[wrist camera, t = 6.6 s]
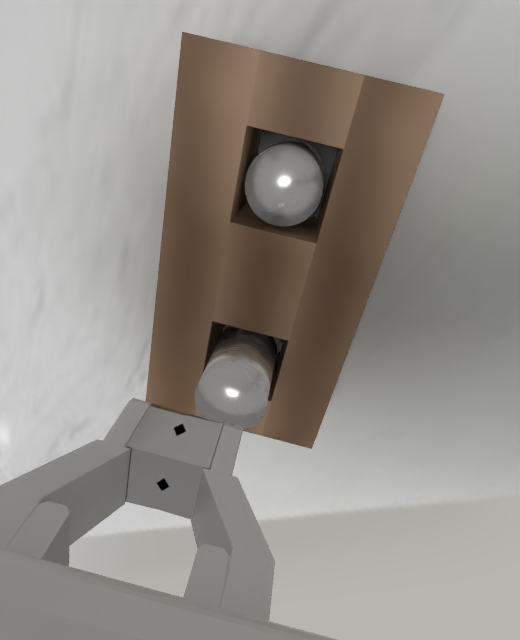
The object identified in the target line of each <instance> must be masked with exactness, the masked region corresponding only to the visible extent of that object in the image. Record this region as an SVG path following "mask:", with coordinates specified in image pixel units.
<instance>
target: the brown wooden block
mask: <svg viewBox="0 0 520 640" xmlns="http://www.w3.org/2000/svg"><path fill="white" fill-rule="evenodd" d="M443 97H444V94H442V93H437V92H433V91H429V90H425V89H421V88H416V87H412V86H408V85H404V84H400V83H395V82H391V81H387V80H383V79H379V78H374V77H370V76H366V75H362V74H358V73H353V72H349V71H345V70H341V69H336V68H332V67H328V66H324V65H320V64H315V63H311V62H307V61H303V60H299V59H294V58H290V57H286V56H282V55H278V54H273V53H269V52H265V51H261V50H257V49H252V48H248V47H244V46H240V45H236V44H231V43H227V42H223V41H219V40H215V39H210V38H206V37H202V36H198V35H194V34H189V33H185V32H182V40H181V50H180V60H179V70H178V80H177V90H176V100H175V111H174V121H173V131H172V141H171V151H170V161H169V171H168V181H167V192H166V202H165V212H164V222H163V232H162V242H161V252H160V262H159V272H158V283H157V293H156V303H155V313H154V323H153V333H152V343H151V353H150V364H149V374H148V384H147V394H146V402H148V403H151V404H152V403H153V404H157V405H160V406H164V407H167V408H170V409H174V410H177V411H181V412H184V413H187V414H192V415H195V416H199V417H203V416H202V415H201V414H200V413H199V411H198V409H197V407H196V404H195V390H196V388H197V386H198V383H199V381H200V379H201V377H202V375H203V373H204V371H205V368H206V366H207V364H208V362H209V360H210V358H211V355H212V353H213V351H214V349H215V347H216V345H217V343H218V340H219V338H220V336H221V334H222V332H223V327H224V324H225V325H229V326H233V327H237V328H241V329H245V330H249V331H253V332H256V333H260V334H264V335H268V336H272V337H276V338H280V339H284V341H283V345H282V348H281V352H280V354H278V353H277V355H276V360H275V365H274V370H273V375H272V380H271V386H270V391H269V396H268V401H267V406H266V411H265V414H264V416H263V418H262V419H261V420H260V422H259V423H257V424H256V425H255V426H253V427H251V428H248V429H245V430H243V431H246V432H250V433H254V434H258V435H262V436H265V437H269V438H273V439H277V440H281V441H284V442H288V443H292V444H296V445H299V446H303V447H307V448H311V449H312V447H313V444H314V441H315V439H316V436H317V433H318V431H319V428H320V425H321V423H322V420H323V417H324V414H325V412H326V409H327V406H328V404H329V401H330V398H331V396H332V393H333V390H334V388H335V385H336V382H337V380H338V377H339V374H340V372H341V369H342V366H343V364H344V361H345V358H346V356H347V353H348V350H349V348H350V345H351V342H352V340H353V337H354V334H355V332H356V329H357V326H358V324H359V321H360V318H361V316H362V313H363V310H364V308H365V305H366V302H367V300H368V297H369V294H370V292H371V289H372V286H373V284H374V281H375V278H376V276H377V273H378V270H379V268H380V265H381V262H382V260H383V257H384V254H385V252H386V249H387V246H388V244H389V241H390V238H391V236H392V233H393V230H394V228H395V225H396V222H397V220H398V217H399V214H400V212H401V209H402V206H403V204H404V201H405V198H406V196H407V193H408V190H409V188H410V185H411V182H412V180H413V177H414V174H415V172H416V169H417V166H418V164H419V161H420V158H421V156H422V153H423V150H424V148H425V145H426V142H427V140H428V137H429V134H430V132H431V129H432V126H433V124H434V121H435V118H436V116H437V113H438V110H439V108H440V105H441V102H442V100H443ZM262 129H263V130H267V131H272V132H276V133H280V134H284V135H288V136H292V137H296V138H300V139H304V140H309V141H313V142H317V143H321V144H325V145H329V146H333V147H337V148H338V149H337V152H336V156H335V159H334V163H333V166H332V170H331V174H330V177H329V181H328V184H327V188H326V191H325V195H324V199H323V202H322V206H321V209H320V213H319V216H318V218H316V217H312V216H310V217H308V218H307V219H306V220H304V221H303V222H301V223H299V224H296V225H292V226H285V227H283V226H275V225H272V224H269V223H267V222H265V221H263V220H262V219H261V218H259V217H258V216H257V215H256V214H255V213H254V211H253V210H252V209H251V207H250V205H249V203H248V201H247V198H246V194H245V178H246V174H247V171H248V169H249V167H250V165H251V163H252V162H253V160H254V159H255V158H256V157H257V152H258V147H259V141H260V136H261V131H262ZM203 418H204V417H203Z"/></svg>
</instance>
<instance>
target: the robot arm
mask: <svg viewBox="0 0 520 640" xmlns="http://www.w3.org/2000/svg"><path fill="white" fill-rule="evenodd" d="M242 432H243V428H242V427H239V426H235V425H231V424H227V423H222V422H219V421H215V420H211V419H207V418H203V417H199V416H195V415H192V414H187V413H184V412H181V411H177V410H174V409H170V408H167V407H164V406H160V405H157V404H153V403H152V404H151V403H148V402H145V401H142V400H138V399H135V398H133V399H132V400H130V401H129V402H128V404H127V405H126V407H125V408H124V410H123V411H122V413H121V414H120V416H119V417H118V419H117V420H116V422H115V423H114V425H113V426H112V428H111V429H110V431H109V432H108V434H107V435H106V437H105V438H104V440H103V441H101V440H95V441H93V442H91V443H89V444H87V445H85V446H82V447H80V448H78V449H76V450H74V451H72V452H70V453H68V454H66V455H64V456H61V457H59V458H57V459H55V460H53V461H51V462H49V463H47V464H45V465H43V466H40V467H38V468H36V469H34V470H32V471H30V472H28V473H26V474H24V475H22V476H19V477H17V478H15V479H13V480H11V481H9V482H7V483H5V484H3V485H1V486H0V640H336V639H332V638H329V637H325V636H322V635H318V634H314V633H311V632H307V631H303V630H300V629H296V628H292V627H289V626H285V625H281V624H278V623H273V622H271V621H269V614H270V605H271V596H272V585H273V575H274V564H275V560H274V558H273V556H272V554H271V551H270V549H269V547H268V545H267V543H266V540H265V538H264V536H263V534H262V531H261V529H260V527H259V525H258V522H257V520H256V518H255V516H254V513H253V511H252V509H251V507H250V504H249V502H248V500H247V498H246V495H245V493H244V491H243V489H242V487H241V484H240V482H239V480H238V478H237V477H234V476H232V473H233V469H234V465H235V461H236V456H237V452H238V448H239V444H240V440H241V436H242ZM125 502H130V503H134V504H138V505H142V506H146V507H150V508H155V509H159V510H162V511H165V512H169V513H172V514H175V515H179V516H182V517H185V518H188V519H191V523H192V527H193V531H194V536H195V540H196V544H197V548H198V550H197V553H196V557H195V560H194V563H193V567H192V570H191V574H190V577H189V581H188V584H187V587H186V590H185V594H184V597H183V598H182V597H178V596H175V595H171V594H167V593H164V592H160V591H157V590H153V589H149V588H145V587H142V586H138V585H134V584H131V583H127V582H123V581H119V580H116V579H112V578H108V577H105V576H102V575H98V574H94V573H90V572H87V571H83V570H80V569H76V568H72V567H69V546H70V545H71V544H72V543H74V542H75V541H76V540H78V539H79V538H80V537H82V536H83V535H84V534H86V533H87V532H88V531H89V530H91V529H92V528H93V527H95V526H96V525H97V524H99V523H100V522H101V521H103V520H104V519H105V518H107V517H108V516H109V515H111V514H112V513H113V512H114V511H116V510H117V509H118V508H120V507H121V506H122V505H124V504H125Z"/></svg>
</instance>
